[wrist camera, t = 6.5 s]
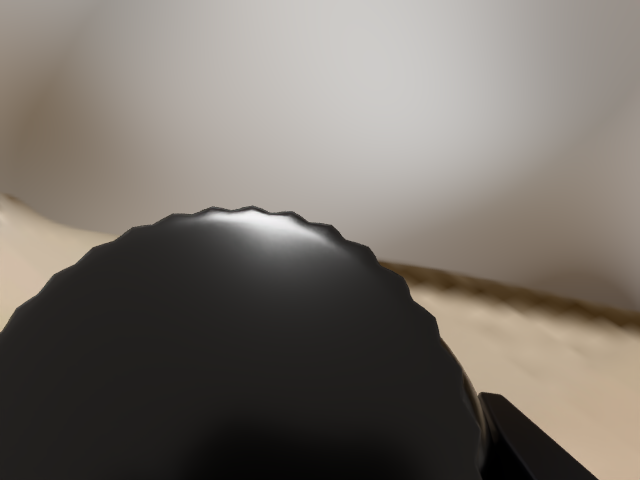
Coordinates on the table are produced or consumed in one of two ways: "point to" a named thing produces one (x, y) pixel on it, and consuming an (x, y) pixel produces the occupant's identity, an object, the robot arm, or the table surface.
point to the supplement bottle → (234, 363)
